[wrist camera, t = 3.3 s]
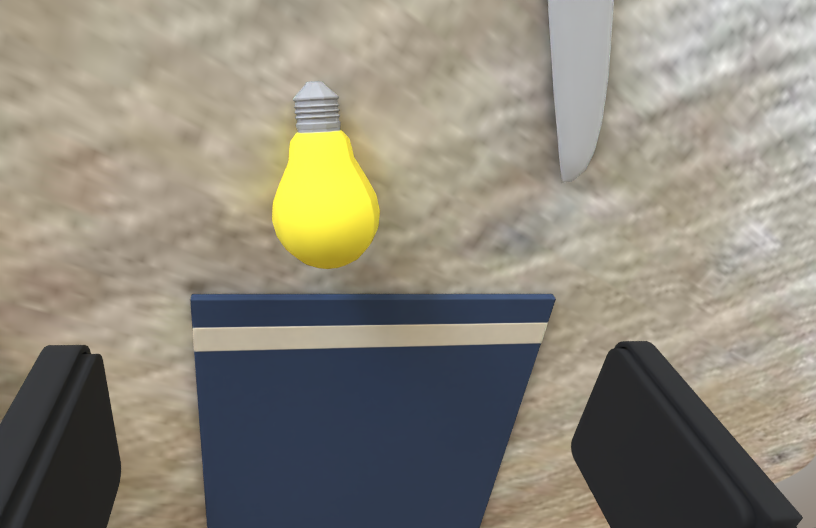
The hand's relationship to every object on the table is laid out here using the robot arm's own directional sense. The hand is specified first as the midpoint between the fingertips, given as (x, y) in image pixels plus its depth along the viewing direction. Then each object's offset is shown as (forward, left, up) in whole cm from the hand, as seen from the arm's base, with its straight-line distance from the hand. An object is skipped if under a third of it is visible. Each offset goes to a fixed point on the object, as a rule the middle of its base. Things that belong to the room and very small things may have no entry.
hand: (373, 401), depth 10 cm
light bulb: (0, 0, -11) cm, 11 cm away
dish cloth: (+16, +3, -11) cm, 19 cm away
